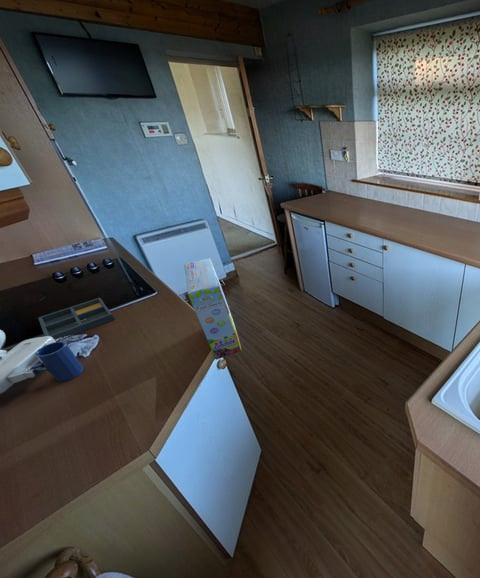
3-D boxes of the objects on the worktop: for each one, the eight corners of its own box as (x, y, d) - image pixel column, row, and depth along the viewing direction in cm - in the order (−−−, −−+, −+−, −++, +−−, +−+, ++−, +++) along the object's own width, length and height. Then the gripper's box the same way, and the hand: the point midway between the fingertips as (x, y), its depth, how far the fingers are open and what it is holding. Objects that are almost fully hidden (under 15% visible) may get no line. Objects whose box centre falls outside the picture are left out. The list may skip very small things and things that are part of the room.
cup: (57, 385, 84) (36, 359, 78) (54, 374, 87) (33, 349, 82) (86, 372, 88) (67, 347, 82) (81, 362, 91) (63, 338, 86)
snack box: (206, 325, 107) (182, 262, 94) (232, 317, 111) (212, 256, 98) (213, 361, 92) (185, 292, 78) (243, 351, 96) (221, 284, 83)
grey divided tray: (49, 344, 98) (45, 338, 97) (42, 323, 107) (37, 317, 106) (115, 319, 110) (111, 314, 108) (103, 302, 119) (99, 297, 118)
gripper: (30, 349, 92) (79, 344, 95) (-38, 403, 75) (25, 396, 77) (17, 333, 89) (69, 329, 91) (-57, 387, 72) (9, 380, 74)
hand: (48, 360), depth 84 cm, fingers open, 8 cm apart
